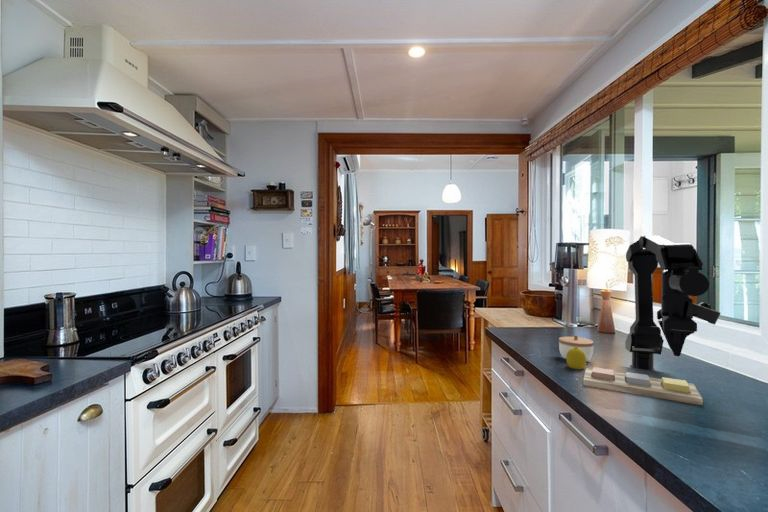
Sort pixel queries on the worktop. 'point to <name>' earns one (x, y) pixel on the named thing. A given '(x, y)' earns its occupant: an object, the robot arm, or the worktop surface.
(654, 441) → the worktop surface
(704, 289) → the robot arm
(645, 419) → the worktop surface
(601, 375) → the clay button
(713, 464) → the worktop surface
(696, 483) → the worktop surface
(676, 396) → the button board
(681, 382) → the yellow button
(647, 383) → the grey button
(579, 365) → the lemon
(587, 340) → the lidded jar
